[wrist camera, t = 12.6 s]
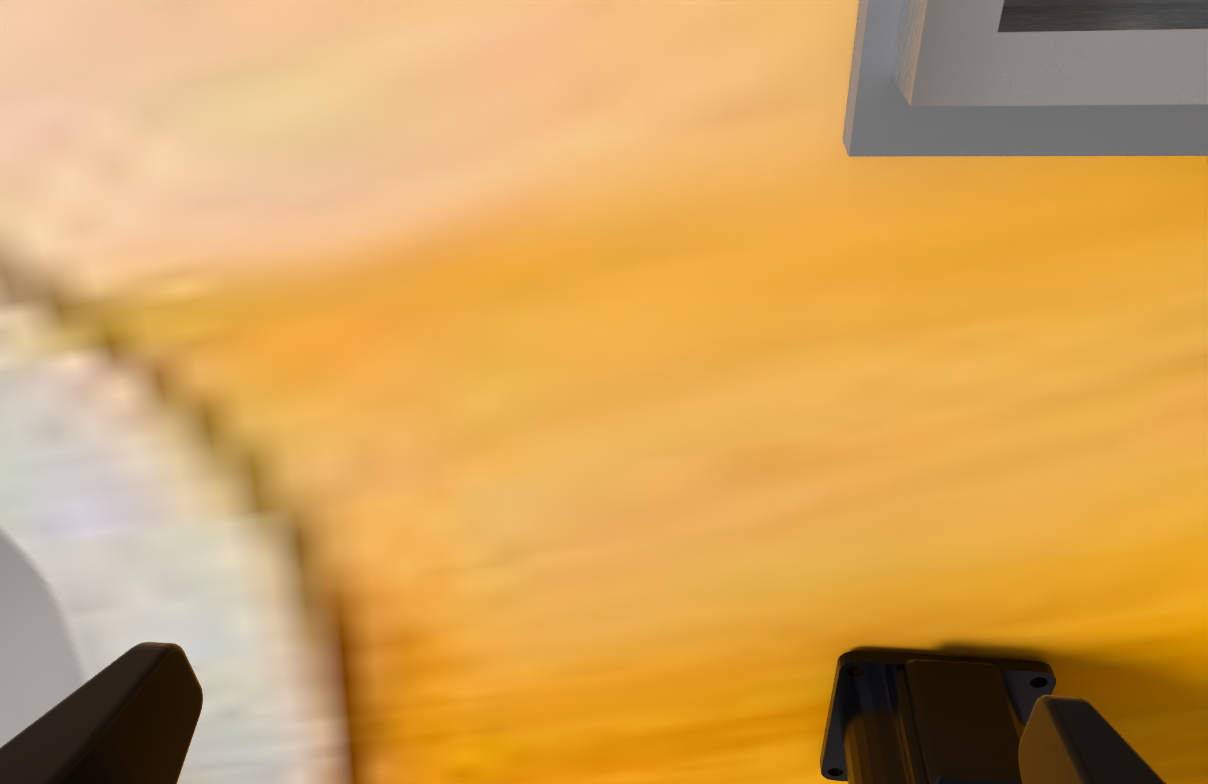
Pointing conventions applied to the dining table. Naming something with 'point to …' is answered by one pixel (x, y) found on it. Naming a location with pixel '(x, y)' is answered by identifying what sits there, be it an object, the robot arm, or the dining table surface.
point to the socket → (1029, 78)
